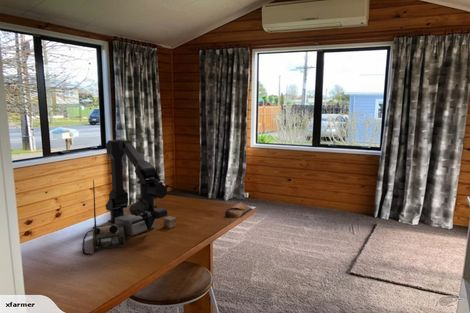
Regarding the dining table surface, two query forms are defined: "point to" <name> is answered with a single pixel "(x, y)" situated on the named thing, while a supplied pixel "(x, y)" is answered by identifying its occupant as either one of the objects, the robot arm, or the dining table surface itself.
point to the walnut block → (169, 222)
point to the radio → (106, 235)
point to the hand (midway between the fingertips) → (149, 229)
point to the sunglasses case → (238, 210)
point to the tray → (139, 227)
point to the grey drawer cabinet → (128, 222)
